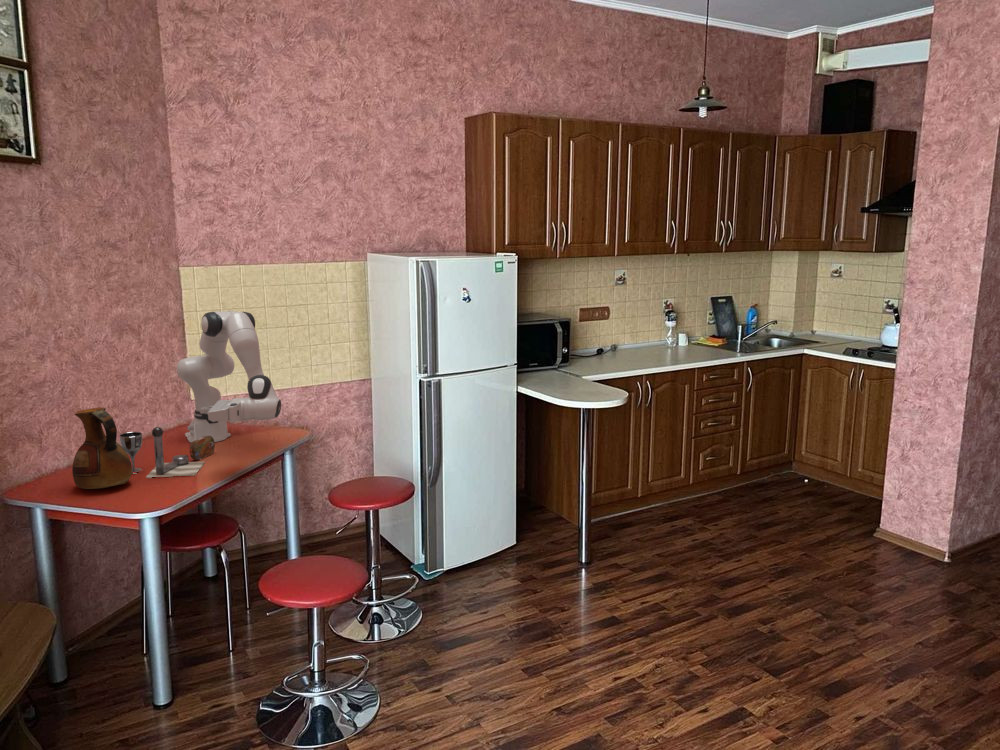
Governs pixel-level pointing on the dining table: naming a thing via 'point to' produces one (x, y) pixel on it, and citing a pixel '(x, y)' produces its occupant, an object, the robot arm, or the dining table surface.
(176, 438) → the dining table surface
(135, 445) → the silver goblet
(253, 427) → the dining table surface
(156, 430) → the lever
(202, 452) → the tin
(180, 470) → the beige square panel
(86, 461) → the ceramic pitcher
